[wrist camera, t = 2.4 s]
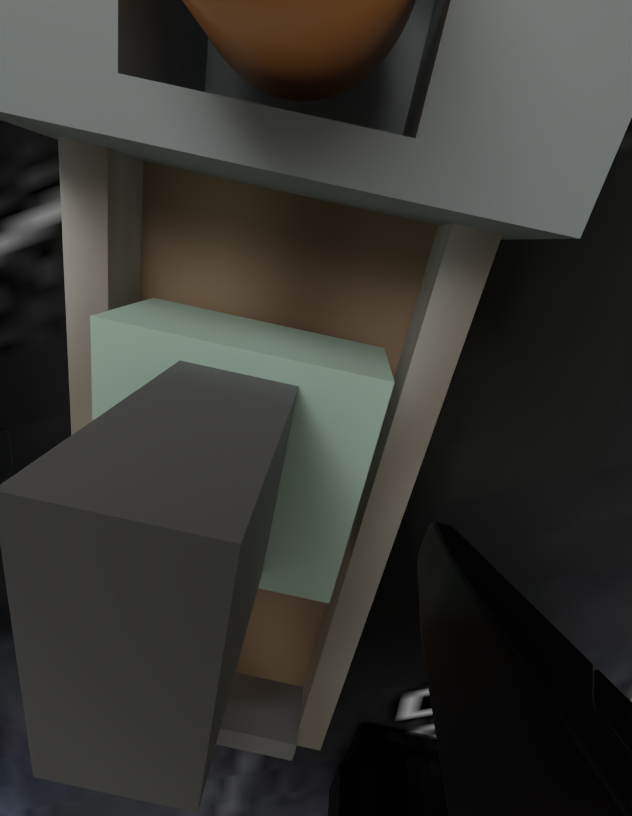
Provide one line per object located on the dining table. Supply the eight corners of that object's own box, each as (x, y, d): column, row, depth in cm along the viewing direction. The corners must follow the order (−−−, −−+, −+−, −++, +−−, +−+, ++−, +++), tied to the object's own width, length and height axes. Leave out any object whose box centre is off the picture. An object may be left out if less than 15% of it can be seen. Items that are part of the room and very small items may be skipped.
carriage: (384, 347, 10) (444, 544, 4) (333, 532, 13) (313, 855, 6) (153, 297, 10) (-210, 401, 4) (145, 490, 13) (-84, 769, 6)
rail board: (463, 235, 11) (511, 233, 8) (325, 671, 18) (319, 766, 15) (133, 163, 11) (40, 130, 8) (125, 628, 18) (75, 713, 15)
